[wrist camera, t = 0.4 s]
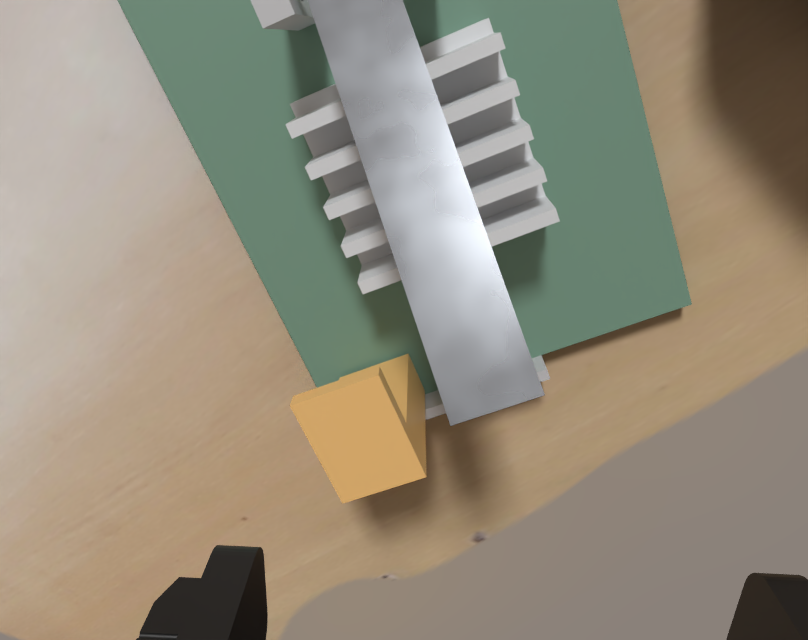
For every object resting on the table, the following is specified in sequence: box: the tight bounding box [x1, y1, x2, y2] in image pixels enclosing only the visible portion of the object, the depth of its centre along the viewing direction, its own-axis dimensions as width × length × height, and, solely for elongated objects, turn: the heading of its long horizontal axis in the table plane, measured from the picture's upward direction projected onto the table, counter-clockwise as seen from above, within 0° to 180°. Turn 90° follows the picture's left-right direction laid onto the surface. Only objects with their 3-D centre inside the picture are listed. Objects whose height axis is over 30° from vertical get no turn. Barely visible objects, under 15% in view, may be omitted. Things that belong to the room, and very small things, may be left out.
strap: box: [301, 0, 545, 426], centre depth 21 cm, size 4×16×1 cm, turn 22°
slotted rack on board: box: [118, 0, 692, 420], centre depth 28 cm, size 20×25×8 cm
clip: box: [290, 354, 426, 503], centre depth 31 cm, size 4×5×8 cm
